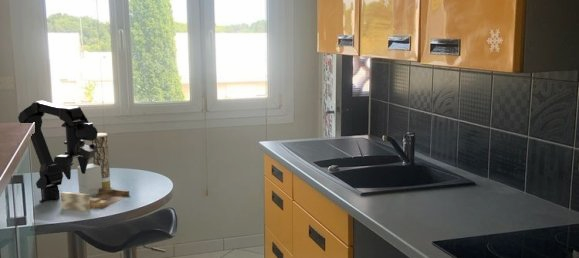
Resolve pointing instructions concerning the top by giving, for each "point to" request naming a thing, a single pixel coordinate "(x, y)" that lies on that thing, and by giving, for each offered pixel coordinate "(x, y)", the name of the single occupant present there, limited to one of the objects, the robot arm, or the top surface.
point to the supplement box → (90, 179)
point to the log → (102, 158)
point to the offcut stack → (97, 203)
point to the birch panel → (75, 201)
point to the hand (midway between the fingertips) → (76, 176)
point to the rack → (111, 195)
